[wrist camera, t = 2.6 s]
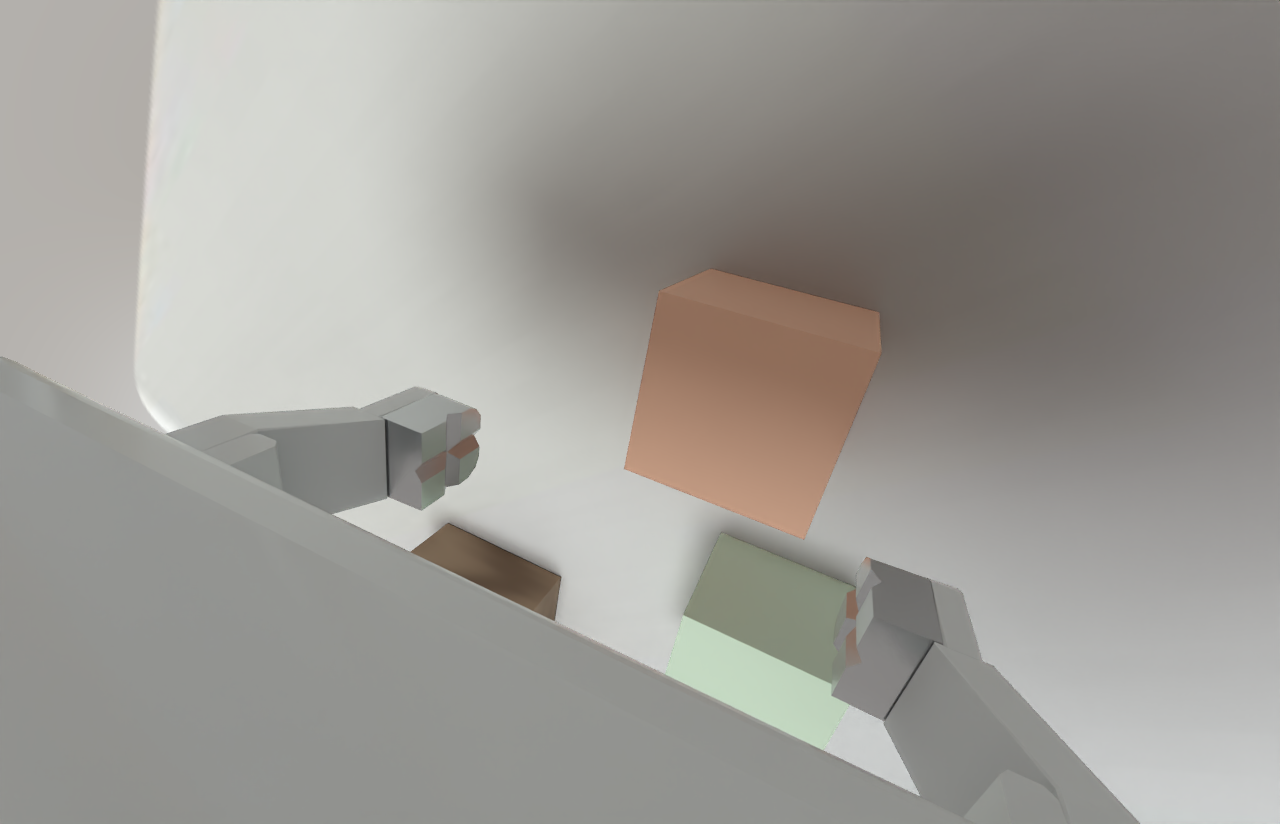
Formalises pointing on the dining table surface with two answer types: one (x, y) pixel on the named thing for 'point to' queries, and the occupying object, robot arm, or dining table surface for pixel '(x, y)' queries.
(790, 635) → the sage block
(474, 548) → the walnut base
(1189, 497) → the dining table surface
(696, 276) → the terracotta block
